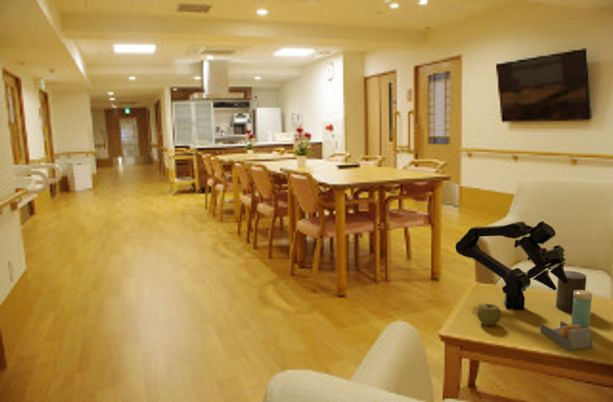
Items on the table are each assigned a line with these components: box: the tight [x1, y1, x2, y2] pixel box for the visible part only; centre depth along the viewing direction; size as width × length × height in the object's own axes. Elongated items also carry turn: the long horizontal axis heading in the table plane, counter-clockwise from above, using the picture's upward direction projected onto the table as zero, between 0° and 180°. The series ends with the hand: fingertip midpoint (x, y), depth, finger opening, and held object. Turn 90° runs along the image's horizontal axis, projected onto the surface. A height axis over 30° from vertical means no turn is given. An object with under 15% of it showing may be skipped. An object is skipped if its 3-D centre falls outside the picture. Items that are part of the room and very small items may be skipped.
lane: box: [539, 320, 594, 352], centre depth 164 cm, size 14×9×6 cm, turn 11°
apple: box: [477, 303, 502, 327], centre depth 177 cm, size 8×8×7 cm
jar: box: [570, 289, 593, 328], centre depth 172 cm, size 6×6×13 cm
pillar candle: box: [555, 270, 587, 313], centre depth 189 cm, size 10×10×15 cm
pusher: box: [561, 324, 580, 339], centre depth 162 cm, size 1×6×5 cm, turn 101°
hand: (561, 286), depth 177 cm, fingers open, 9 cm apart
